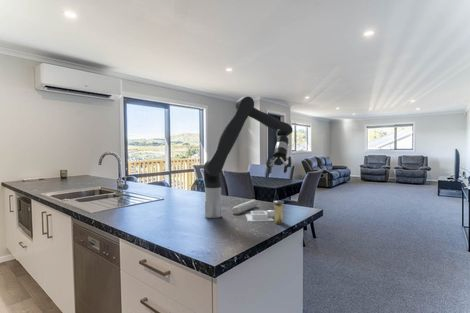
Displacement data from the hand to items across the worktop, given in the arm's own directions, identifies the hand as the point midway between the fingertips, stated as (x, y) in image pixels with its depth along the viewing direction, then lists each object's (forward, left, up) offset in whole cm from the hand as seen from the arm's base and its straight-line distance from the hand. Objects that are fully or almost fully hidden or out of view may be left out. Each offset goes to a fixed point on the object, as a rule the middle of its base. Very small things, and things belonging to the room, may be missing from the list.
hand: (277, 172), depth 148 cm
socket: (-9, 0, -26) cm, 27 cm away
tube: (-17, +19, -26) cm, 37 cm away
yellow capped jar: (-2, -10, -26) cm, 28 cm away
